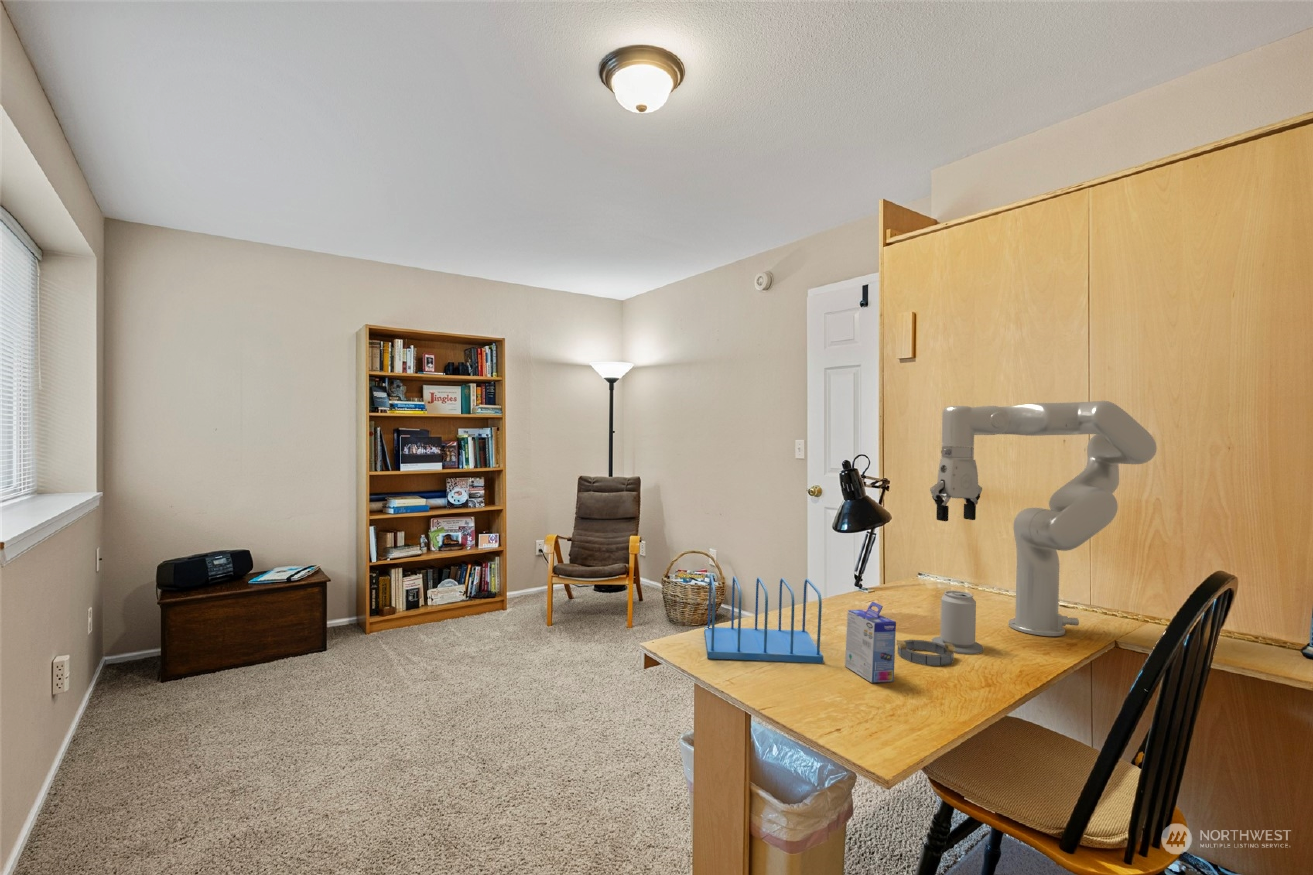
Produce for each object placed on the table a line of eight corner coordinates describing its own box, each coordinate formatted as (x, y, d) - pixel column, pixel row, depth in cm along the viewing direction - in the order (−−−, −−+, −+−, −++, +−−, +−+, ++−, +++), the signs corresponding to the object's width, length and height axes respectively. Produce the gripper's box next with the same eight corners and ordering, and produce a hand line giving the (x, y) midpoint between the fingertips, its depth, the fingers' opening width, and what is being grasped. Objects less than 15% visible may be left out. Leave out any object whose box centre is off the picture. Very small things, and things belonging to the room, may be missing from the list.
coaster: (972, 640, 152) (972, 637, 152) (991, 655, 141) (991, 653, 141) (925, 637, 153) (925, 635, 153) (940, 652, 142) (940, 650, 142)
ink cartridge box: (896, 682, 124) (898, 609, 124) (872, 684, 123) (874, 611, 123) (866, 664, 134) (867, 597, 134) (843, 666, 132) (845, 598, 132)
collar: (944, 649, 144) (944, 637, 144) (962, 667, 133) (962, 653, 133) (891, 646, 146) (891, 634, 146) (904, 663, 135) (905, 650, 135)
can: (981, 649, 144) (982, 597, 144) (948, 648, 144) (949, 596, 144) (966, 638, 151) (967, 589, 151) (935, 637, 151) (935, 588, 151)
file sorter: (707, 660, 135) (709, 589, 135) (703, 634, 152) (705, 572, 152) (823, 664, 134) (825, 593, 134) (806, 638, 151) (808, 575, 151)
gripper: (945, 454, 154) (943, 523, 154) (993, 454, 161) (992, 520, 161) (921, 453, 161) (919, 519, 161) (968, 453, 168) (967, 517, 168)
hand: (956, 520), depth 161 cm, fingers open, 9 cm apart
